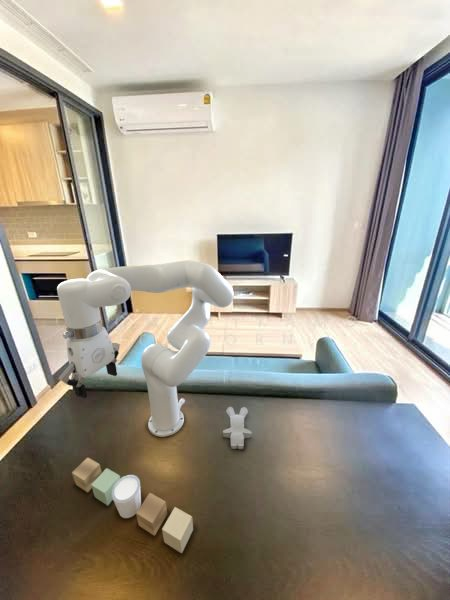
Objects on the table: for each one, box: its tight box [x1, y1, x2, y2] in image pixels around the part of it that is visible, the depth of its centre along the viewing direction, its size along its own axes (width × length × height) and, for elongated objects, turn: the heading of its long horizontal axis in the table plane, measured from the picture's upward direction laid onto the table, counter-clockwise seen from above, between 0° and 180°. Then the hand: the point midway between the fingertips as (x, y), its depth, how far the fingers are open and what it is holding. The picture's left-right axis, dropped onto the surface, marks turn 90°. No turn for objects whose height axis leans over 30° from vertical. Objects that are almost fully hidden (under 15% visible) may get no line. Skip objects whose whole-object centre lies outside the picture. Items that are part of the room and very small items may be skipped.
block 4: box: [161, 506, 194, 554], centre depth 59 cm, size 5×5×5 cm
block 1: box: [71, 457, 103, 493], centre depth 71 cm, size 5×5×5 cm
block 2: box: [91, 467, 121, 506], centre depth 68 cm, size 5×5×5 cm
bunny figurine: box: [222, 406, 252, 450], centre depth 86 cm, size 10×5×15 cm
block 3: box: [135, 492, 168, 536], centre depth 62 cm, size 5×5×5 cm
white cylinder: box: [112, 474, 142, 519], centre depth 64 cm, size 7×7×7 cm
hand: (98, 384), depth 68 cm, fingers open, 9 cm apart
